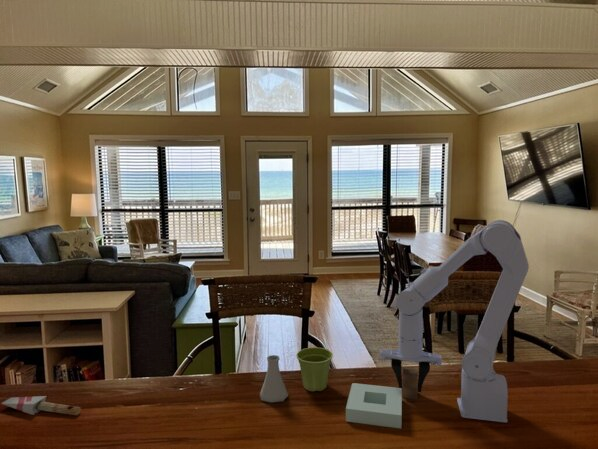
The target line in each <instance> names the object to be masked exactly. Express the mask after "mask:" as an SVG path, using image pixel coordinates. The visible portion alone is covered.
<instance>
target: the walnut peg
mask: <svg viewBox="0 0 598 449" xmlns="http://www.w3.org/2000/svg"><path fill="white" fill-rule="evenodd" d="M418 376H419V374H418V369H413V368H407V367H406V368H404V367H403V368H402V399H410V400H412V399H413V400H418Z"/></svg>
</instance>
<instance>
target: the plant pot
mask: <svg viewBox="0 0 598 449" xmlns="http://www.w3.org/2000/svg"><path fill="white" fill-rule="evenodd" d="M333 355H334V353H333V352H332V351H330V350H329V349H327V348H323V347H316V346H315V347H314V346H313V347H307V348H302V349H301V350H299V351H298V352H296V358H297V361H298V364H299V369H300V372H301V378H302V379H301V380H302V385H303V388H304V389H305V390H307V391H309V392H316V391H318V392H321V391H324V390H325V389H326V388H327V387H328V380H329V370H330V364H331V362H332V361H331V360H332V359H333Z"/></svg>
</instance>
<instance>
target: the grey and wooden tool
mask: <svg viewBox="0 0 598 449" xmlns="http://www.w3.org/2000/svg"><path fill="white" fill-rule="evenodd" d="M46 399H47V395H42V396H41V395H39V396H38V395H37V396H17V397H16V396H15V397H9V398H8V399H6V400H4V401H3V402H1V403H0V404H2V405H4V406H7V407H10V408H12V409H15V410H17V411H20V412H23V413H26V414H28V415H33V416H35V415H36V414H38V413H39V412H40V411H43V412H50V413H57V414H63V415H70V416H78V415H80V413H81V411H82V409H81V408H82V407H80V406H72V405H66V404H61V403H53V402H49V401H46ZM35 413H36V414H35Z"/></svg>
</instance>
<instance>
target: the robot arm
mask: <svg viewBox="0 0 598 449" xmlns="http://www.w3.org/2000/svg"><path fill="white" fill-rule="evenodd" d="M488 252H489V253H491V255H493V256H494V257H495V258H496V260H497V261H498V263H499V265H500V266H501V268H502V270H501V274H500V275H499V279H498V280H497V284H496V286H495V288H494V290H493V293H492V296H491V298H490V301H489V304H488V306H487V307H486V308H487V309H486V311H485V312H484V316H483V319H482V321H481V324H480V326H479V329H478V331H477V332H476V334H475V337H474V338H473V339H472V340H470V341H469V342H468V344H467V346H466V351H465V353H464V356H463V358H462V359H461V376H460V378H461V382H460V385H461V386H460V389H461V390H460V397H457V398H456V401H457V405H458V409H459V410H458V411H459V412H460V416H461V418H465V419H471V420H472V419H473V420H481V421H488V422H489V421H490V422H497V423H505V424H506V423H508V394H509V393H508V382H507V379H506V377H505V376H504V375H503V374H497V372H496V371H495V369H494V362H495V358H496V350H497V347H498V344H499V341H500V338H501V336H502V334H503V332H504V329H505V327H506V324H507V322H508V320H509V317H510V314H511V312H512V310H513V307H514V305H515V302H516V300H517V298H518V296H519V293H520V290H521V288H522V287H523V283H524V281H525V279H526V276H527V274H528V271H529V268H530V267H529V262H528V258H527V257H528V256H527V255H526V252H525V248H524V245H523V242H522V238H521V234H520V233H519V232H518V230H517V229H516V228H515V226H514V225H513V224H512V223H510V222H509V221H506V220H502V219H497V220H493V221H492V222H489V224H488V225H487V226H486V227H485V228H482V229H481V230H479V231H477V232H476V233H474V234H473V235H471V236H470V237H469V238H468V239H466V240H465V241H464V242H463V243H462V244H461V245H460V246H459V247H458V248H457V249H456V250H455V251H454V252H453V253H452V254H450V256H448V257H447V259H445V260H444V261H443V262H442V263H441V264H440V265H439V266H432V265H431V266H428V268H426V267H424V268H423V269H422V270H421V271H420V275H419V276H418V277H417V278H416V279H415V280H414V281H409V283H407V285H406V286H407V287H406V288H404V290H402V291H401V292H400V293H399V294H398V296H397V298H396V307H397V309H398V310H399V312H398V313H399V315H398V349H397V348H396V349H380V355H379V356H380V357H379V358H380V361H385V360H387V361H388V360H389V361H391V362H390V364H391V368H392V370H393V372H394V375H395V377H396V380H397V384H398V388H402V389H403V374H402V364H403V363H402V362H409V363H418V378H417V393H422V388H423V384H424V382H425V379H426V378H427V376H428V374H429V373H430V370H431V365H432V364H433V365H436V366H442V359H443V358H442V355H441V354H435V353H432V352H426V351H424V350H423V343H424V341H423V340H424V338H423V337H424V336H423V335H424V334H423V333H424V327H423V326H424V318H423V311H424V310H423V307H424V306H425V304H426V303H428V302H430V301H432V299H433V298H434V297H436V296H437V295H438V294H439V293H440V292H442V291H443V290H444V289H445V288H446V287H447V286H448V285H449V277H450V276H451V275H452V274H454V272H456V271H457V270H458V269H460V267H461V266H463V265H464V264H465V263H466V262H467V261H469V260H470V259H472V258H473V257H474V256H480V255H486V254H487V253H488Z"/></svg>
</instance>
